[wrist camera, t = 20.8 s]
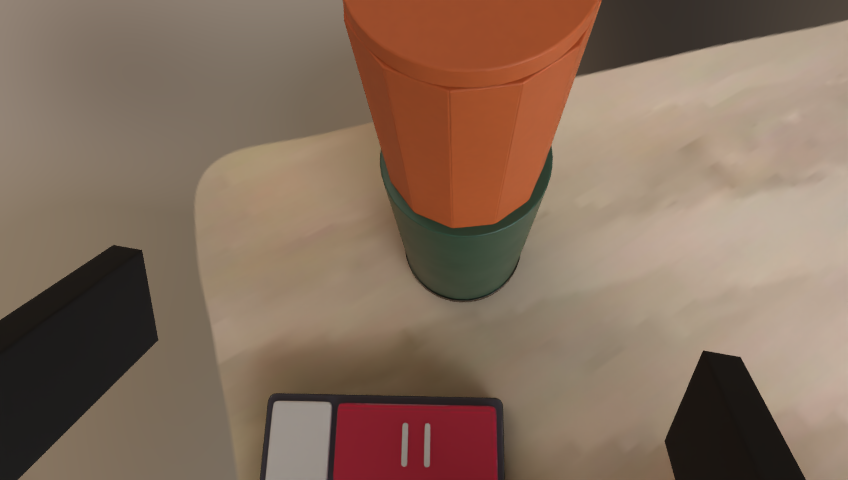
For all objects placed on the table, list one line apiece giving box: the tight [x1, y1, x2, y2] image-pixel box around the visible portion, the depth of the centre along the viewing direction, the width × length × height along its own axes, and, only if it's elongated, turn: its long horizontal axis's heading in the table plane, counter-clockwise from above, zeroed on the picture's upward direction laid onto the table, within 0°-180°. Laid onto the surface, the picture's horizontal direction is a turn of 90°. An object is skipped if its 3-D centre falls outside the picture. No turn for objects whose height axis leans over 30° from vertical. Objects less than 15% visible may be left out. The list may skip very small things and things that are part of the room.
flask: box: [380, 147, 553, 302], centre depth 32 cm, size 9×9×18 cm
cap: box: [343, 0, 602, 228], centre depth 20 cm, size 7×7×12 cm
